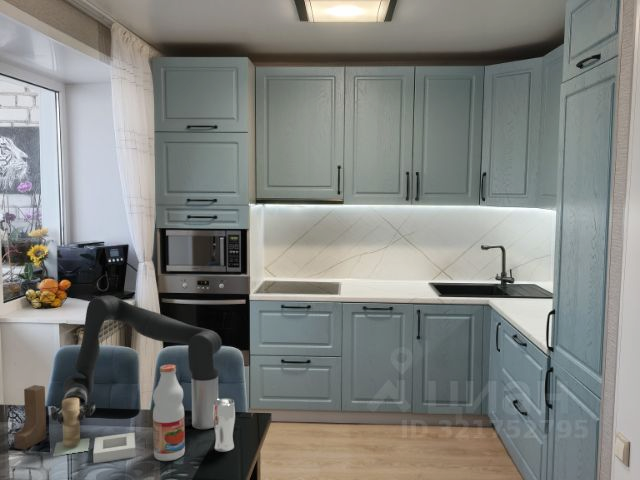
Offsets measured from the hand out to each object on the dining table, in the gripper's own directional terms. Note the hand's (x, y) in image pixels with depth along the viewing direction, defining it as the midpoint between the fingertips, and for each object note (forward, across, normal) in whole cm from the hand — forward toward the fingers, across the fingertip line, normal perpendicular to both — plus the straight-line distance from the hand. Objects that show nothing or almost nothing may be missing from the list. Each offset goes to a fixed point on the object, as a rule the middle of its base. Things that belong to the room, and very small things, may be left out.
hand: (70, 419), depth 171 cm
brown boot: (-10, -13, +10) cm, 19 cm away
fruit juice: (+14, +29, +10) cm, 34 cm away
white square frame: (+6, +13, +10) cm, 17 cm away
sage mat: (-2, 0, +10) cm, 10 cm away
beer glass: (+15, +46, +10) cm, 49 cm away
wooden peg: (-2, 0, +8) cm, 9 cm away
